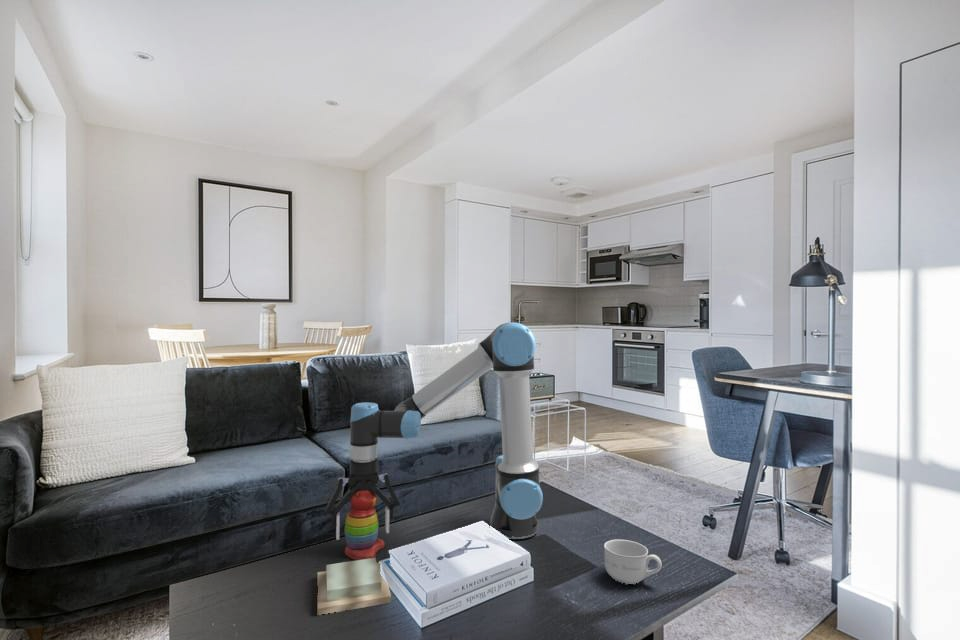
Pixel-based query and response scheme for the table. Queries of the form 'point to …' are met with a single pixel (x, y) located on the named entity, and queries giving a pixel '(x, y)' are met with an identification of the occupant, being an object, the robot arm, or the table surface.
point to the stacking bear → (362, 527)
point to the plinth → (351, 601)
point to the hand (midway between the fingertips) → (362, 534)
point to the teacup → (628, 561)
